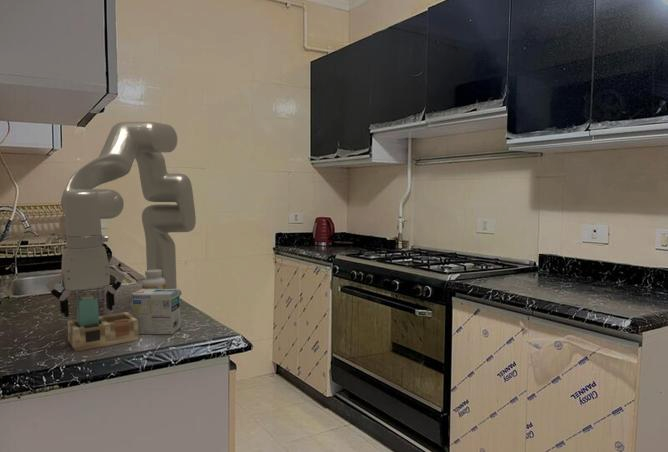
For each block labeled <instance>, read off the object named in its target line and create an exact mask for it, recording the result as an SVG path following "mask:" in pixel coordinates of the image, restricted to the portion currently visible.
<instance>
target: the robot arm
mask: <svg viewBox="0 0 668 452" xmlns="http://www.w3.org/2000/svg"><path fill="white" fill-rule="evenodd" d="M177 145H178V135H177V132H176V129H175V128H174V127H173V126H172V125H170V124H167V123H161V122H155V121H123V122H122V121H121V122H118V123H115V124H114V125H113V126H112V127H111V129H110V131H109V133H108V135H107V137H106V140H105V142H104V145H103V146H102V148H101V149H102V150H101V151H100V153H99V155H98V157H96V158H94V159H93V160H91V161H89V162H88V163H86V164H85V165H83V166H82V167H81V168H79V169H78V170H76V171H75V172H74V173H73V174H72V175H71V176H70V178H69V179H68V182H67V183H66V186H64V187H65V188H64V190H63V192H62V195H61V198H60V199H61V200H60V208H61V211H62V212H63V214H64V221H65V235H66V236H65V237H66V238H65V239H66V248H64V249H62V256H61V273H60V274H59V275H56V276H55V277H52V278H51V279H50V280H48V281H47V282H45V286H46V288H47V289H48V291H49V293H51V295H52V296H54V297H56V299H58V300H59V309H60V314H63V316H64V317H65V318H68V317H69V316H70V314H69V313H70V312H69V309H70V308H69V300H68V296H69V295H70V294H71V293H72V292H79V291H87V290H95V289H96V290H97V289H102V288H105V290H106V293H105V300H106V301H105V303H106V305H105V306H106V309H107V310H108V311H109V310H110V311H113V307H114V306H115V294H116V293H117V292H116V291H117V290H118V289H119V288H120V287H121V286H122V283H123V282H124V278H125V277H126V275H125V274H124V273H123V272H120V271H117V270H114V269H111V268H110V267H109V259H108V255H107V249H106V248H105V246H104V243H105V242H106V243H107V242H109V236H107V235H106V236H105V235H103V234H102V222H101V220H109V219H110V220H111V219H114V218H117V217H118V216H119V215H120V214H121V213H122V212H123V209H124V205H125V204H124V199H123V196H122V195H121V194H120V192H118V191H116V190H114V189H107V188H101V189H99V188H98V189H96V187H98V186H101V185H103V184H106V183H109V182H112V181H116V180H118V179H121V178H123V177H125V176H126V175H128V174H129V173H130V171H131V169H132V167H133V163H134V161H135V162H136V164H137V167H138V173H139V180H140V187H141V191H142V197H144V200H146V201H147V202H152V203H165V204H151V205H148V206H146V207H145V208H144V209H143V210H142V214H141V221H142V227H143V232H144V238H145V254H146V255H145V257H146V261H145V262H146V271H147V270H154V269H158V270H162V275H161V277H162V278H164V279H165V281H166V289H178V288H177V285H178V284H177V265H176V264H177V261H176V260H177V255H176V244H175V241H174V239H173V237H172V236H170V234H169V233H189V232H191V231H193V230H195V227H196V224H197V223H196V222H197V220H196V210H195V201H194V200H195V199H194V192H193V191H194V190H193V186H192V185H193V184H192V182H191V180H190V178H189V177H188V175H186V174H183V173H169V172H168V171H167V165H166V159H165V157H164V155H163V153H167V154H168V153H172V152H173V151H174V150H175V149H176V147H177ZM166 203H169V204H166ZM170 203H176V204H170ZM111 276H112V277H116V279H115V281H114V283H113V284H112V285H110V284H111ZM60 282H61V286H62V288H63V289H62V290H61V291H58V290H57V289H56V288H55V285H57V284H59V283H60ZM179 291H180V296H181V295H182V290H180V289H179Z"/></svg>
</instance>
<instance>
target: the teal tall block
mask: <svg viewBox="0 0 668 452" xmlns="http://www.w3.org/2000/svg"><path fill="white" fill-rule="evenodd" d="M75 303H76V320H77V325H78V327H83V326H84V325H90V324H96V323H98V324H99V316H100V315H99V312H100V311H99V299H98V297H96V296H95V295H93V294H85V295H80V297H77V298H76V302H75Z"/></svg>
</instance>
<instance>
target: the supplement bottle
mask: <svg viewBox="0 0 668 452" xmlns="http://www.w3.org/2000/svg"><path fill="white" fill-rule="evenodd" d="M144 275H145V279H143V280H142V282H141V283H142V284H141V289H166V281H165V279H164V278H162V277H161V275H162V270H158V269H154V270H147V269H146V270H145V271H144Z"/></svg>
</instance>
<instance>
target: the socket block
mask: <svg viewBox="0 0 668 452" xmlns="http://www.w3.org/2000/svg"><path fill="white" fill-rule="evenodd" d="M66 323H67V337H68V338H67V340H68V342H69V344H70V345H71V347H72V348H73V350H74V351H75V352H81V351H86V350H92V349H97V348H102V347H108V346H112V345H113V346H114V345H119V344H124V343H129V342H134V341H139V334H138V320H137V319H136V318H134V317H133V316H132V314H130V313H129V312H128V311H125V312H124V311H123V312H119V313H111V314H106V315H104V314H103V315H99V324H98V323H96V324H90V325H84V326H83V327H78V325H77V319H72V320H71V319H70V320H67V322H66Z"/></svg>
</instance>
